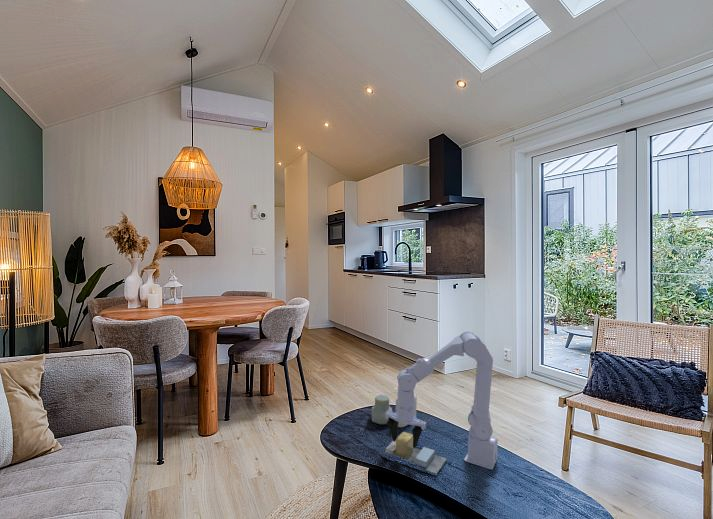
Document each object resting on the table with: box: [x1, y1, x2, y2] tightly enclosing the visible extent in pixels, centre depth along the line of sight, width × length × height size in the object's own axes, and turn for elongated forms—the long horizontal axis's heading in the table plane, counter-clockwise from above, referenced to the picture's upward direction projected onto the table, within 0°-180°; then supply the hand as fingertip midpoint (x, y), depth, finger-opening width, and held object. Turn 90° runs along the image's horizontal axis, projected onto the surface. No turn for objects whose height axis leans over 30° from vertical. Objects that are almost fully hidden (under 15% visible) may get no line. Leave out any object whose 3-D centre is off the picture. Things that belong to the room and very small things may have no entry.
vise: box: [384, 440, 448, 474], centre depth 137 cm, size 20×10×3 cm, turn 59°
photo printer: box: [394, 392, 418, 428], centre depth 162 cm, size 10×4×12 cm, turn 134°
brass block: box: [396, 431, 413, 459], centre depth 138 cm, size 4×6×6 cm, turn 149°
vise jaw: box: [415, 446, 436, 468], centre depth 135 cm, size 4×8×2 cm, turn 149°
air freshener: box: [371, 394, 393, 425], centre depth 163 cm, size 11×8×10 cm
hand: (405, 443), depth 138 cm, fingers open, 7 cm apart
